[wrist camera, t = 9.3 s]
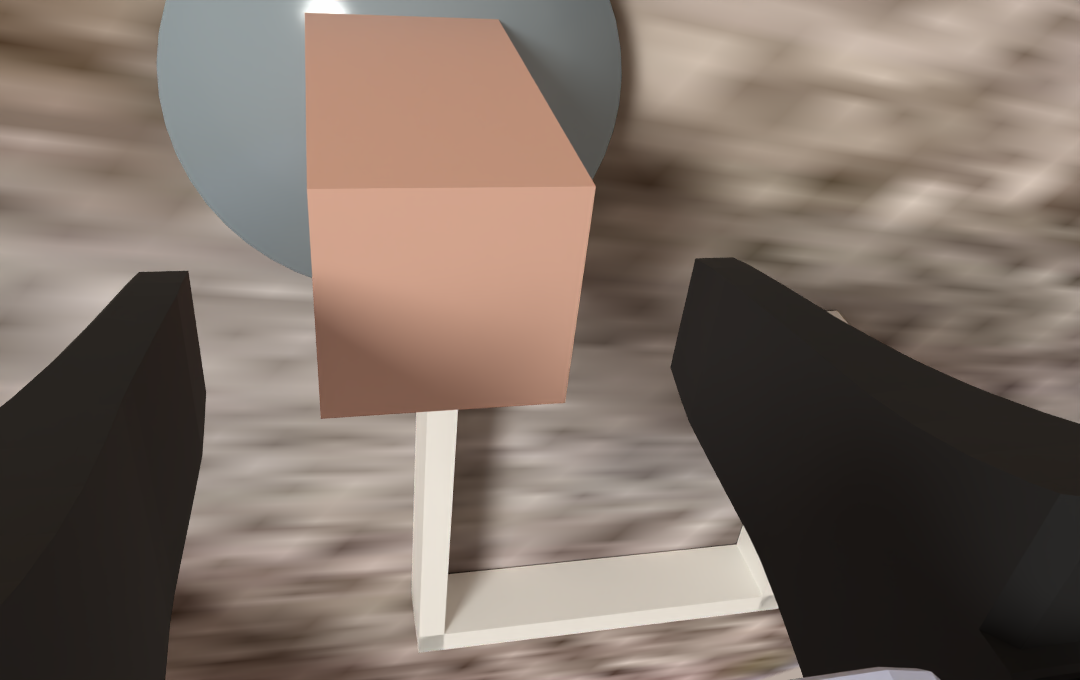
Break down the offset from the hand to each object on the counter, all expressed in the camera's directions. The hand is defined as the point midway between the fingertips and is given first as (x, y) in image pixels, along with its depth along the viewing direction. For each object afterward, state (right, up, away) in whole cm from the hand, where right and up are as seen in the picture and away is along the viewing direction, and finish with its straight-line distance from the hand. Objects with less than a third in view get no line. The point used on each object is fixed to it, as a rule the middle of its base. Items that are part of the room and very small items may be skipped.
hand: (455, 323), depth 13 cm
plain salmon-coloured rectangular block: (-2, +5, +7) cm, 9 cm away
